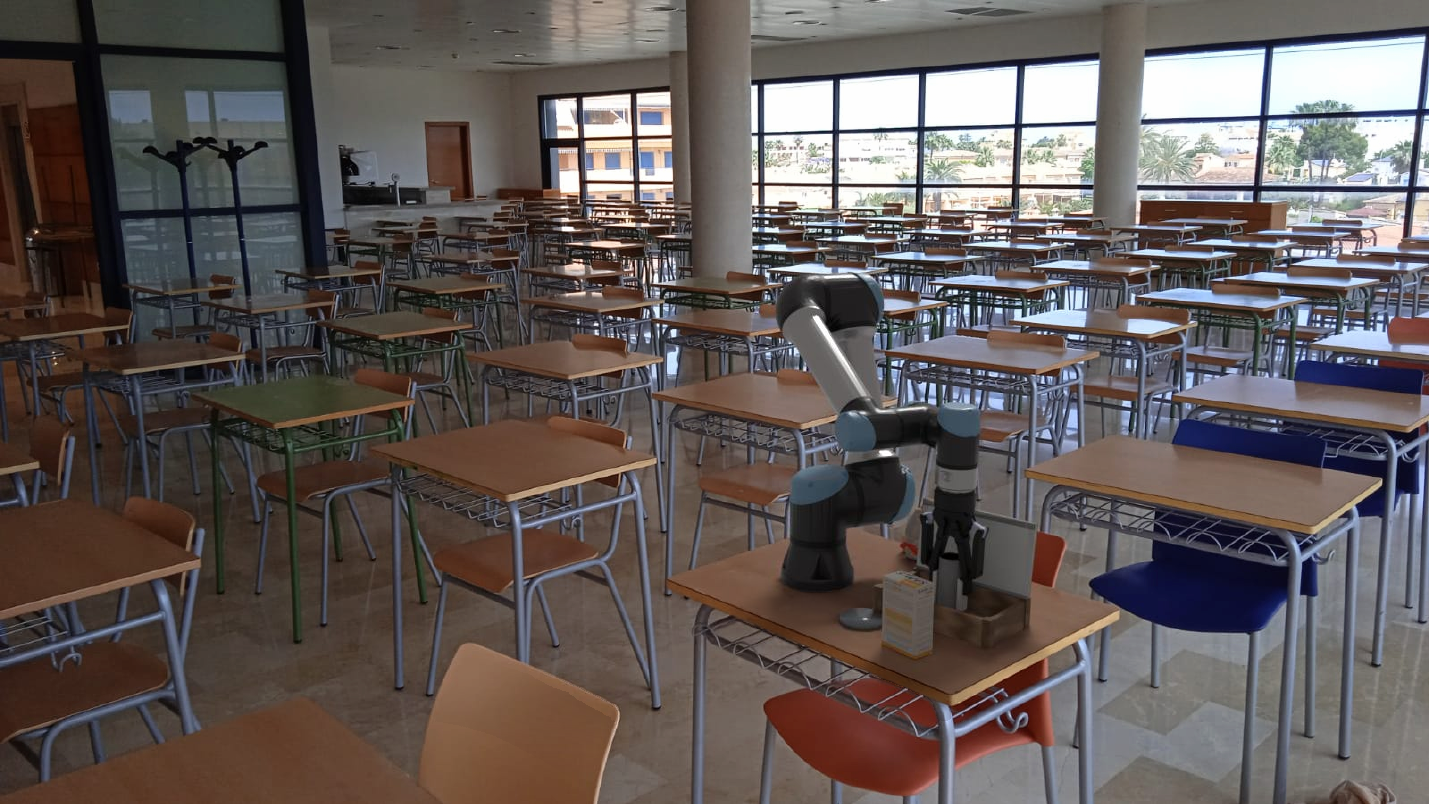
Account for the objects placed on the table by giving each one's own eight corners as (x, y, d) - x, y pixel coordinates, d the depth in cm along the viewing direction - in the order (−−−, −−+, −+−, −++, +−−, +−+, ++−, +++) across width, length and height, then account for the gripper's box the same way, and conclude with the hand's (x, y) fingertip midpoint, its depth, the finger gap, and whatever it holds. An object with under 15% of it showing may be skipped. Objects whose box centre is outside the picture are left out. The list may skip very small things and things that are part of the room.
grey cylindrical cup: (932, 608, 197) (934, 556, 195) (944, 600, 201) (947, 549, 198) (953, 614, 194) (956, 562, 192) (965, 607, 198) (968, 555, 195)
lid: (922, 498, 207) (925, 497, 208) (914, 569, 209) (918, 568, 210) (1034, 524, 191) (1038, 523, 192) (1026, 601, 192) (1029, 599, 193)
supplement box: (933, 653, 183) (936, 582, 180) (914, 660, 180) (916, 588, 177) (899, 637, 189) (901, 568, 187) (880, 644, 186) (882, 574, 184)
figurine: (943, 558, 230) (941, 508, 226) (921, 569, 226) (919, 518, 222) (912, 545, 237) (910, 497, 233) (891, 555, 233) (888, 506, 230)
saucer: (830, 621, 197) (830, 617, 196) (857, 608, 203) (857, 604, 202) (867, 633, 191) (867, 629, 191) (894, 620, 197) (894, 616, 197)
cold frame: (873, 612, 201) (874, 585, 199) (916, 591, 211) (917, 566, 210) (989, 650, 184) (990, 621, 183) (1029, 625, 194) (1030, 598, 193)
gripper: (903, 481, 196) (898, 599, 201) (988, 502, 184) (980, 626, 189) (925, 473, 201) (920, 588, 206) (1009, 493, 189) (1001, 613, 194)
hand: (949, 606), depth 197 cm, fingers closed on grey cylindrical cup, 4 cm apart
